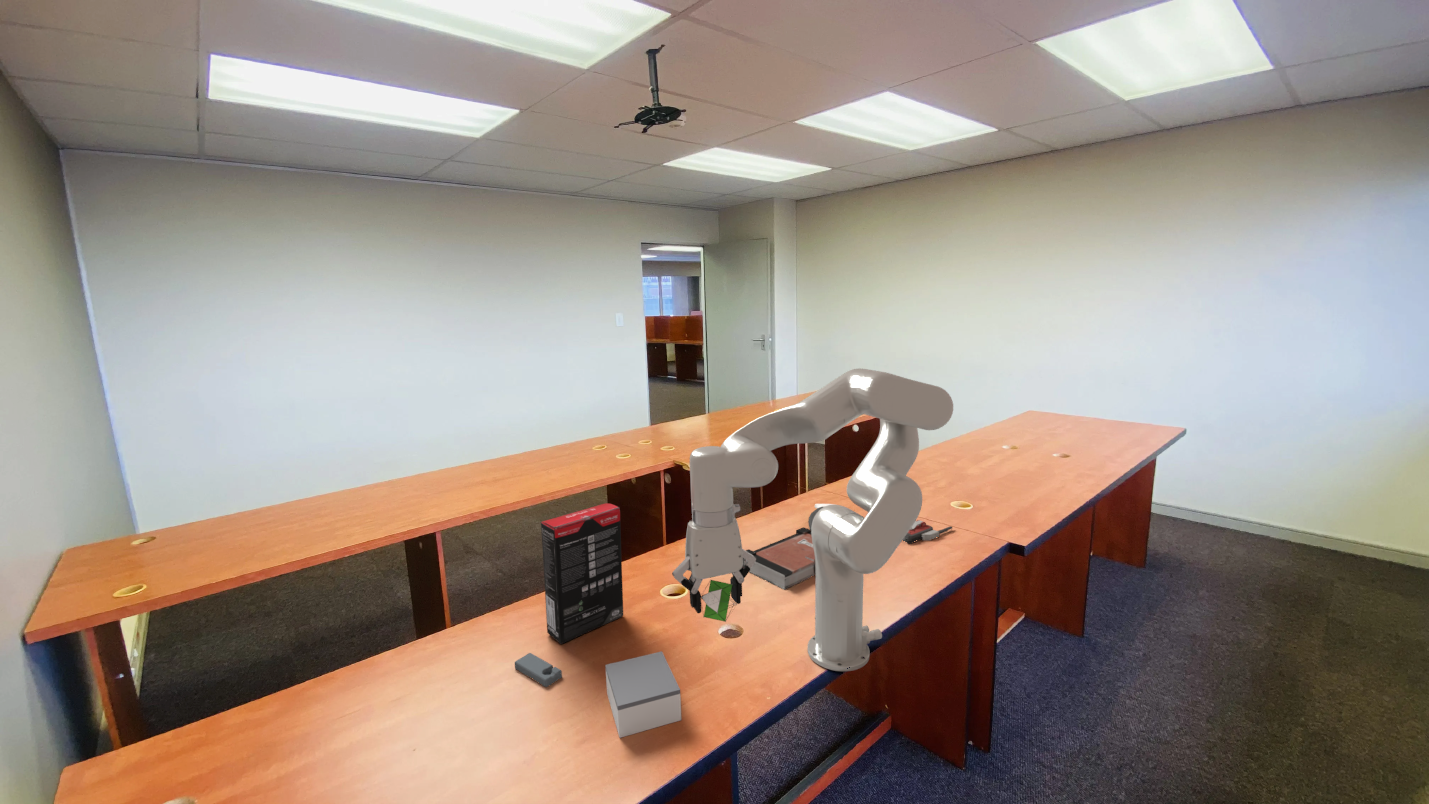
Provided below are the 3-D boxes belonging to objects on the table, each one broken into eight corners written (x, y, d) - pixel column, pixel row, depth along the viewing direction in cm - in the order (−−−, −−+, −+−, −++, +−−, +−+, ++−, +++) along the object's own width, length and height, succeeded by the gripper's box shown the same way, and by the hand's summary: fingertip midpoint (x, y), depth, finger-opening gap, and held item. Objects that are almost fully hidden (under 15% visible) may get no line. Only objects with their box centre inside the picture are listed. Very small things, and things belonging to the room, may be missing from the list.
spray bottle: (808, 534, 180) (808, 508, 203) (843, 536, 178) (839, 509, 202) (808, 525, 179) (808, 500, 203) (843, 527, 177) (839, 501, 201)
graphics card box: (610, 606, 139) (604, 499, 134) (627, 616, 134) (621, 506, 129) (546, 635, 127) (537, 520, 122) (562, 648, 122) (553, 528, 117)
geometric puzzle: (699, 591, 111) (706, 568, 106) (733, 598, 111) (741, 575, 106) (694, 625, 106) (700, 602, 100) (729, 632, 106) (738, 610, 100)
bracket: (531, 660, 119) (530, 651, 118) (562, 678, 113) (562, 669, 112) (514, 670, 116) (513, 661, 115) (546, 689, 110) (545, 680, 109)
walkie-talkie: (913, 548, 167) (954, 532, 178) (914, 534, 167) (955, 519, 177) (889, 539, 175) (930, 524, 185) (890, 525, 174) (931, 511, 185)
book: (786, 592, 144) (786, 574, 143) (740, 569, 157) (740, 552, 156) (850, 561, 160) (850, 544, 160) (803, 542, 174) (803, 527, 173)
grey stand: (663, 679, 111) (661, 651, 110) (681, 720, 100) (680, 689, 99) (607, 693, 107) (605, 664, 106) (619, 737, 96) (617, 706, 95)
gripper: (748, 500, 109) (750, 586, 112) (661, 515, 103) (666, 605, 106) (765, 513, 102) (767, 604, 105) (672, 530, 96) (677, 626, 99)
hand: (716, 604), depth 106 cm, fingers closed on geometric puzzle, 7 cm apart
